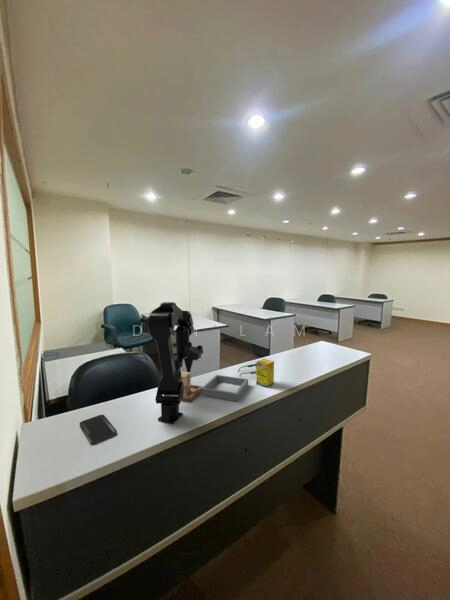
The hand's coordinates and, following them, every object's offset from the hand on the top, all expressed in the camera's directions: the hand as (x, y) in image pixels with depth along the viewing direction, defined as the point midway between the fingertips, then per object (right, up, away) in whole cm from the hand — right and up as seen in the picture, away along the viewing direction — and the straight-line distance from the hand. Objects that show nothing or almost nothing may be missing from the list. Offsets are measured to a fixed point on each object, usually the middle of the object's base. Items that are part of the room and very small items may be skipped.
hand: (183, 376), depth 106 cm
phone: (-24, -11, -24) cm, 36 cm away
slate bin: (+18, -7, +3) cm, 20 cm away
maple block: (0, -7, 0) cm, 7 cm away
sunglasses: (+31, -6, +22) cm, 38 cm away
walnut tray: (0, -8, +1) cm, 8 cm away
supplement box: (+36, -7, +9) cm, 38 cm away
